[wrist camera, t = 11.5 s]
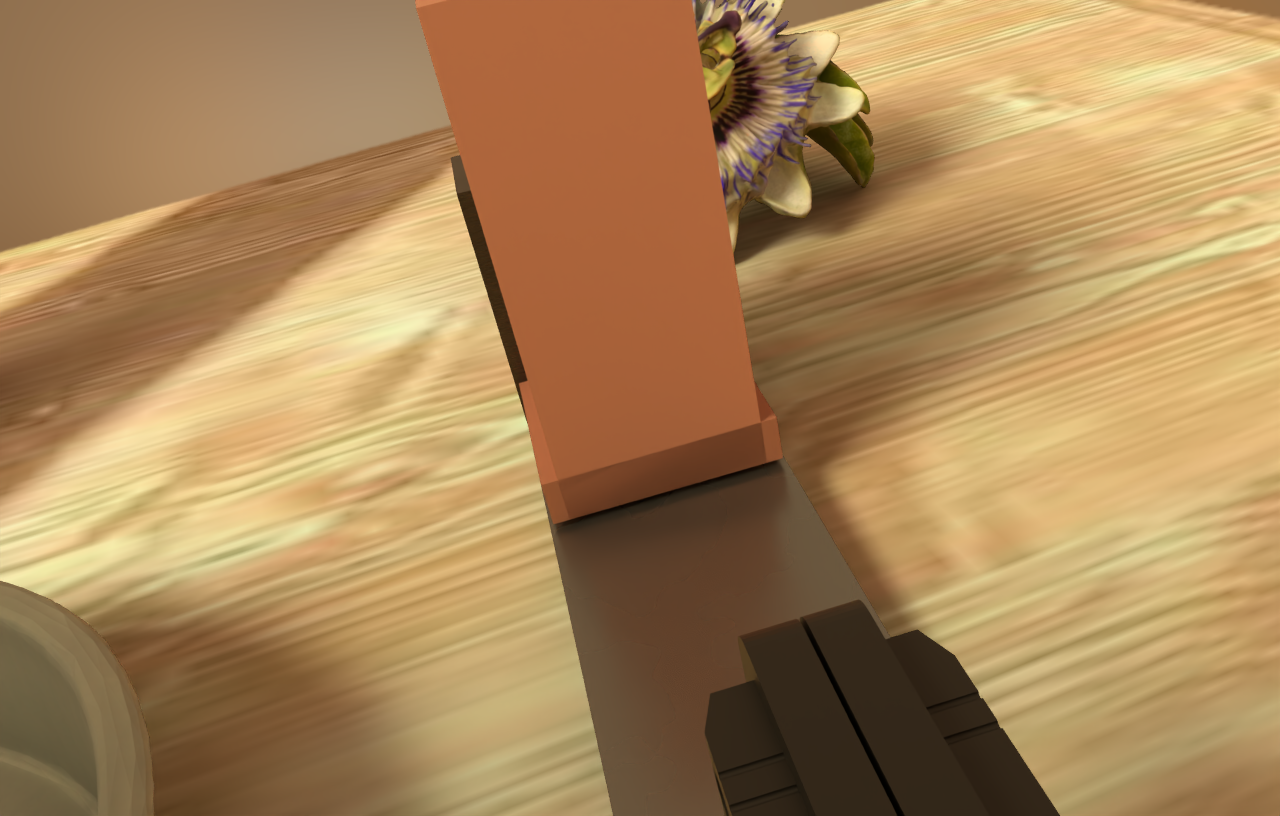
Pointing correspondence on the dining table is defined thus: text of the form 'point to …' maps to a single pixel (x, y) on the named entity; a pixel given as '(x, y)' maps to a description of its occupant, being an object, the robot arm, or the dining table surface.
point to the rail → (677, 601)
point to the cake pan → (66, 717)
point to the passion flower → (776, 106)
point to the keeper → (605, 240)
